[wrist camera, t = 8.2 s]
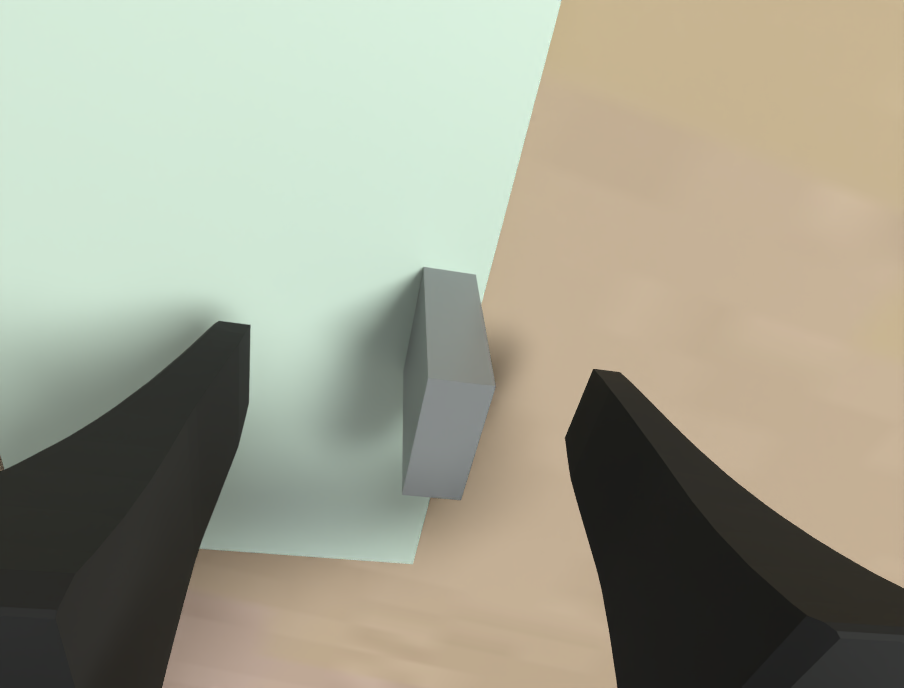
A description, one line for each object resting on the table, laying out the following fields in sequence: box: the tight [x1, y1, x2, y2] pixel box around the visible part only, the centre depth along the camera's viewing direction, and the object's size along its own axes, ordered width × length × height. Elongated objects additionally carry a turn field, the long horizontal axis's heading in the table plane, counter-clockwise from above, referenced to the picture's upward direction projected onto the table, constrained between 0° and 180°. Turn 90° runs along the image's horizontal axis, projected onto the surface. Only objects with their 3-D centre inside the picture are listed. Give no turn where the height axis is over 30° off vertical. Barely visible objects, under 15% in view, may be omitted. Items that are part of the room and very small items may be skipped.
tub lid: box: [0, 0, 561, 564], centre depth 13 cm, size 19×12×5 cm, turn 168°
